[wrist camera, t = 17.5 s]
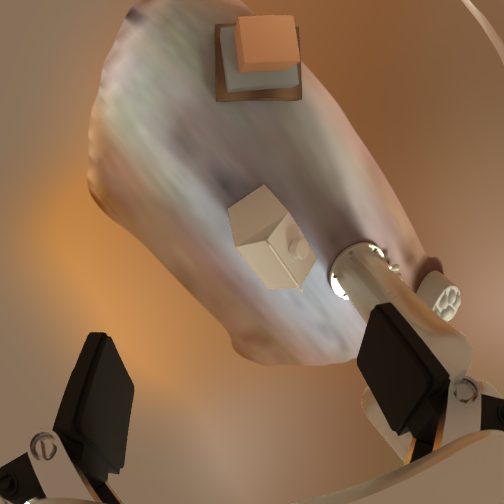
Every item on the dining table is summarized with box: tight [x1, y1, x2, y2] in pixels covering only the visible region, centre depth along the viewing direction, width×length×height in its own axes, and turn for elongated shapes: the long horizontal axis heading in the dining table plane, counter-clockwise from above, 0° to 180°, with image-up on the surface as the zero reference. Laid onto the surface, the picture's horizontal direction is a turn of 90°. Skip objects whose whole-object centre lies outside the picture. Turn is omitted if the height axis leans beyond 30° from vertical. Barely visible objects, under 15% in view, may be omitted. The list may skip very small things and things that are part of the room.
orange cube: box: [234, 15, 300, 73], centre depth 25 cm, size 6×6×6 cm
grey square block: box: [220, 26, 299, 93], centre depth 30 cm, size 9×9×4 cm
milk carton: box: [228, 184, 317, 293], centre depth 37 cm, size 7×7×19 cm
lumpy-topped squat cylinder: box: [416, 270, 461, 322], centre depth 56 cm, size 10×13×9 cm
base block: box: [215, 24, 302, 102], centre depth 33 cm, size 12×12×4 cm
